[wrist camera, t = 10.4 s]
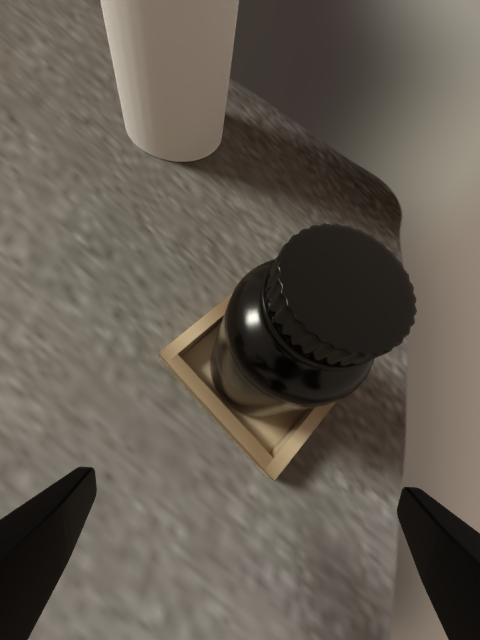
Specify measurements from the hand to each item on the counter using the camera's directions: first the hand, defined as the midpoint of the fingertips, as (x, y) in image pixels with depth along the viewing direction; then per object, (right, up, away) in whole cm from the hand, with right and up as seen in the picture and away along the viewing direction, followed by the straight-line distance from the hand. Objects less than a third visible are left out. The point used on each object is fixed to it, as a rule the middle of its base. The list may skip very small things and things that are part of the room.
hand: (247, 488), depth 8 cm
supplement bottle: (+1, +2, +12) cm, 12 cm away
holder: (+1, +2, +12) cm, 12 cm away
